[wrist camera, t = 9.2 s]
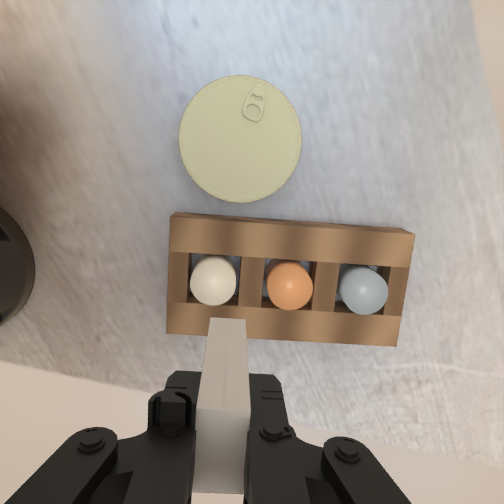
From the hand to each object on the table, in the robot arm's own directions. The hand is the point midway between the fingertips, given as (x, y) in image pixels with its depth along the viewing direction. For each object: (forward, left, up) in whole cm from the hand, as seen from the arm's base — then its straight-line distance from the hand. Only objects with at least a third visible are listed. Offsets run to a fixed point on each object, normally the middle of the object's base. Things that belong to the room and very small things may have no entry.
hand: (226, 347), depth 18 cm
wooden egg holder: (+6, -4, -26) cm, 27 cm away
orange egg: (+6, -4, -26) cm, 27 cm away
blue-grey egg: (+13, -4, -26) cm, 30 cm away
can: (0, +9, -27) cm, 28 cm away
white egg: (-1, -4, -26) cm, 27 cm away
